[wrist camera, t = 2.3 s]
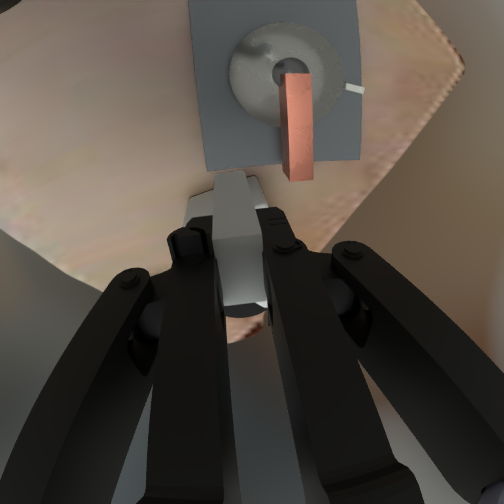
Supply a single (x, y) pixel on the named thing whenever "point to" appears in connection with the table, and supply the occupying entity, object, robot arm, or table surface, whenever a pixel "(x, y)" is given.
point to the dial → (288, 86)
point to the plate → (229, 109)
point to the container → (204, 207)
